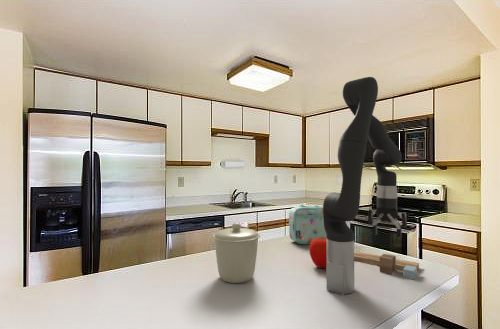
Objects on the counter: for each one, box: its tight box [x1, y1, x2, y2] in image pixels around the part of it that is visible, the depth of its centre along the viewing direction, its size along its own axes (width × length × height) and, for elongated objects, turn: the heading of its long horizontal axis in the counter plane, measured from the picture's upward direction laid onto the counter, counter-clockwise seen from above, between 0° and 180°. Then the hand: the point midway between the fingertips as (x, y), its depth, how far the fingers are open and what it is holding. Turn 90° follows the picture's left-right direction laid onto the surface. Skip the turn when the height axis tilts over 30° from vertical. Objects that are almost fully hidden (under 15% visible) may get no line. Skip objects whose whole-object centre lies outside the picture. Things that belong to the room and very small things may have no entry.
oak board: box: [354, 250, 420, 272], centre depth 120 cm, size 8×26×2 cm, turn 49°
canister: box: [212, 222, 261, 284], centre depth 105 cm, size 18×18×21 cm
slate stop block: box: [402, 265, 418, 280], centre depth 106 cm, size 6×4×3 cm, turn 139°
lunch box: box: [288, 204, 326, 245], centre depth 156 cm, size 27×10×21 cm, turn 104°
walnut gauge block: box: [379, 253, 397, 275], centre depth 112 cm, size 6×4×6 cm
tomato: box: [309, 237, 327, 269], centre depth 116 cm, size 11×11×13 cm
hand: (386, 236), depth 112 cm, fingers open, 8 cm apart
